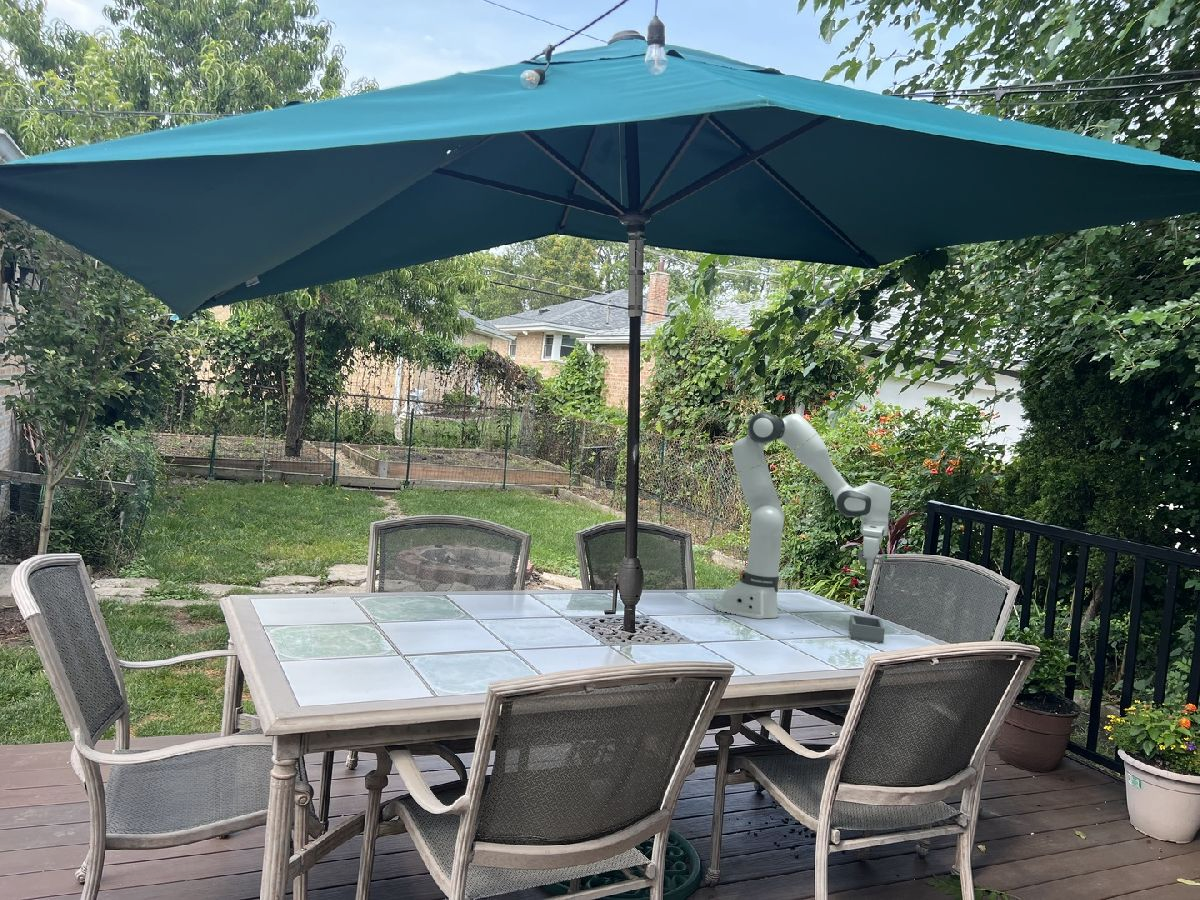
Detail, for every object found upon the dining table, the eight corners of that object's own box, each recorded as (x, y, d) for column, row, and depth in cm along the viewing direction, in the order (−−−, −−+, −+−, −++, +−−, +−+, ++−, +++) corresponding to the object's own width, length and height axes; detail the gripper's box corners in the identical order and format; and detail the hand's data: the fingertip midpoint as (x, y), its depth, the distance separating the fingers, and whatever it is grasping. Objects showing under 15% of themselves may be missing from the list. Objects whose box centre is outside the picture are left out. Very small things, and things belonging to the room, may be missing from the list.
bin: (851, 639, 276) (852, 624, 276) (848, 629, 291) (850, 614, 291) (883, 644, 274) (884, 628, 274) (879, 633, 289) (880, 619, 288)
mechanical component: (883, 583, 290) (887, 554, 290) (852, 578, 293) (856, 550, 293) (883, 582, 293) (887, 553, 292) (853, 577, 296) (856, 549, 296)
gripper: (867, 525, 303) (862, 563, 304) (861, 530, 284) (857, 571, 285) (885, 527, 301) (881, 566, 301) (881, 532, 282) (876, 574, 283)
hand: (869, 568), depth 293 cm, fingers closed on mechanical component, 3 cm apart
